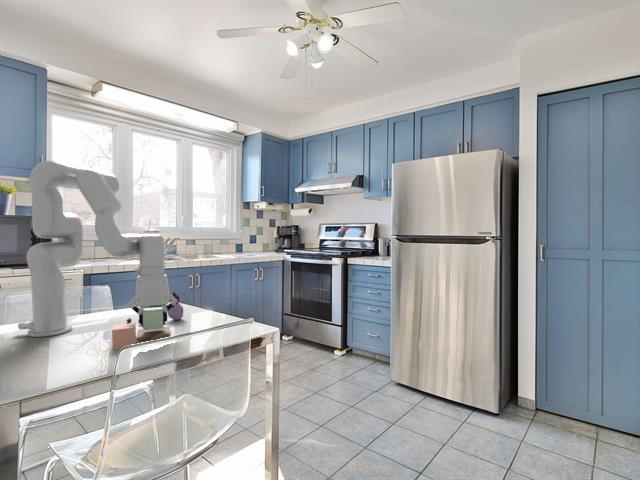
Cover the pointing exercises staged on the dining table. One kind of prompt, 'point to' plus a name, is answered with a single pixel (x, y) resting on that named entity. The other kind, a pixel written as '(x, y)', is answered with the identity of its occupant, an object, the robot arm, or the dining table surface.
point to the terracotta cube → (123, 335)
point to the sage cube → (152, 318)
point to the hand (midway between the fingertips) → (153, 324)
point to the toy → (173, 309)
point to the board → (152, 334)
